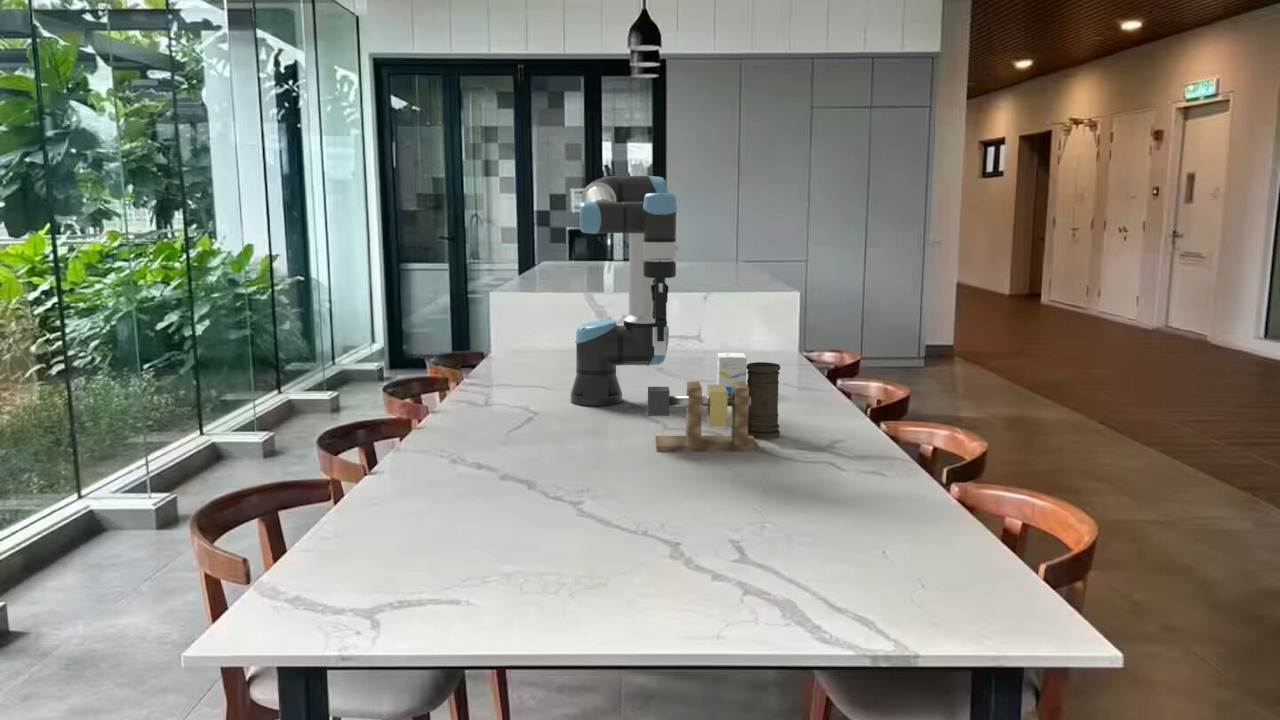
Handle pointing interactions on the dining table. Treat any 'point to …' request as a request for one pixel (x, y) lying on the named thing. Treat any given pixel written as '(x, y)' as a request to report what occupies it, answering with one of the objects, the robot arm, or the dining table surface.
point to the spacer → (717, 406)
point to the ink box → (731, 369)
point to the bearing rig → (712, 443)
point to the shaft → (674, 401)
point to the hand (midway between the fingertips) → (659, 350)
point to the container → (763, 400)
